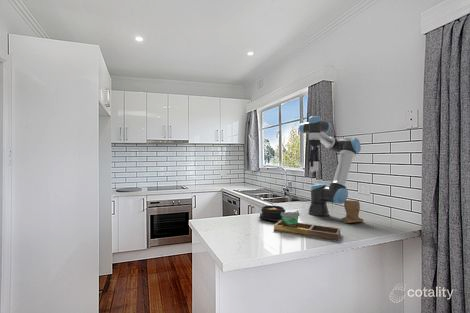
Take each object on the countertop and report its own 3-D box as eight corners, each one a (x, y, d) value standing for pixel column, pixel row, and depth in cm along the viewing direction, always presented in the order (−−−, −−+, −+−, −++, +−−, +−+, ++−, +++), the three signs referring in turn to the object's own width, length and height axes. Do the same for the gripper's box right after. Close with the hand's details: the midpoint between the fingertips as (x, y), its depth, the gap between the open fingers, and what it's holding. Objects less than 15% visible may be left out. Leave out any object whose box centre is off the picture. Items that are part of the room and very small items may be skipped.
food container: (286, 231, 146) (286, 214, 146) (280, 228, 151) (280, 211, 151) (303, 229, 151) (303, 212, 151) (297, 226, 156) (297, 210, 156)
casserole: (294, 222, 170) (294, 210, 170) (269, 225, 163) (269, 212, 163) (276, 214, 193) (276, 203, 193) (253, 216, 187) (253, 204, 187)
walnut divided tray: (280, 225, 162) (280, 220, 162) (340, 234, 145) (340, 228, 145) (273, 230, 151) (273, 224, 151) (337, 241, 134) (337, 234, 134)
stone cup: (352, 218, 183) (352, 198, 183) (366, 222, 172) (367, 200, 172) (336, 220, 177) (336, 199, 177) (350, 225, 166) (350, 202, 166)
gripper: (316, 138, 156) (316, 172, 156) (323, 140, 178) (323, 170, 178) (304, 138, 159) (304, 172, 160) (312, 140, 181) (312, 170, 182)
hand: (314, 171), depth 169 cm, fingers open, 13 cm apart
